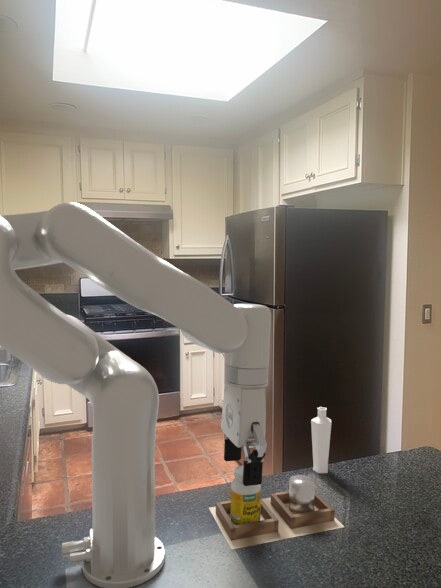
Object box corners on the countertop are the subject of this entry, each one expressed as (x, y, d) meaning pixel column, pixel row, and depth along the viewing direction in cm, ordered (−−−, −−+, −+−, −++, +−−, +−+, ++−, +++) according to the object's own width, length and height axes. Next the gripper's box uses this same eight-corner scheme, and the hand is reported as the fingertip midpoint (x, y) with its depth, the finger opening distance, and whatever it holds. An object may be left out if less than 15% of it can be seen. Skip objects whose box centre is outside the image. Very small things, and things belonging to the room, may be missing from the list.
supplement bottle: (248, 511, 83) (248, 460, 82) (266, 525, 78) (267, 471, 78) (224, 520, 80) (224, 467, 79) (242, 535, 75) (242, 480, 75)
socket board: (231, 555, 72) (231, 537, 71) (208, 512, 84) (208, 497, 84) (344, 532, 78) (345, 515, 78) (308, 496, 90) (308, 481, 90)
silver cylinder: (295, 521, 80) (296, 488, 79) (284, 507, 84) (284, 476, 84) (319, 516, 81) (319, 484, 81) (306, 503, 86) (307, 473, 85)
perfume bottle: (323, 481, 97) (325, 413, 96) (307, 474, 100) (308, 408, 99) (335, 474, 100) (337, 409, 99) (319, 468, 103) (321, 404, 102)
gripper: (211, 365, 85) (207, 454, 85) (243, 388, 68) (238, 498, 69) (248, 364, 87) (244, 450, 88) (288, 386, 71) (282, 493, 71)
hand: (241, 471), depth 78 cm, fingers open, 9 cm apart
